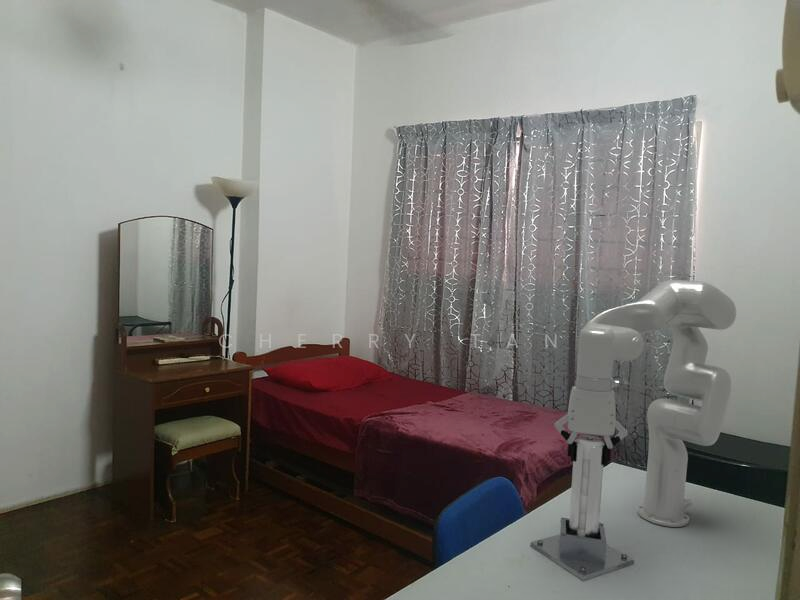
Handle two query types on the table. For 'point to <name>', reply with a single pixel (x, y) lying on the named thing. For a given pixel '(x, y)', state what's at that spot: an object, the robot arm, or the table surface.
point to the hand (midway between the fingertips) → (588, 461)
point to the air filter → (586, 486)
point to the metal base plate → (582, 553)
